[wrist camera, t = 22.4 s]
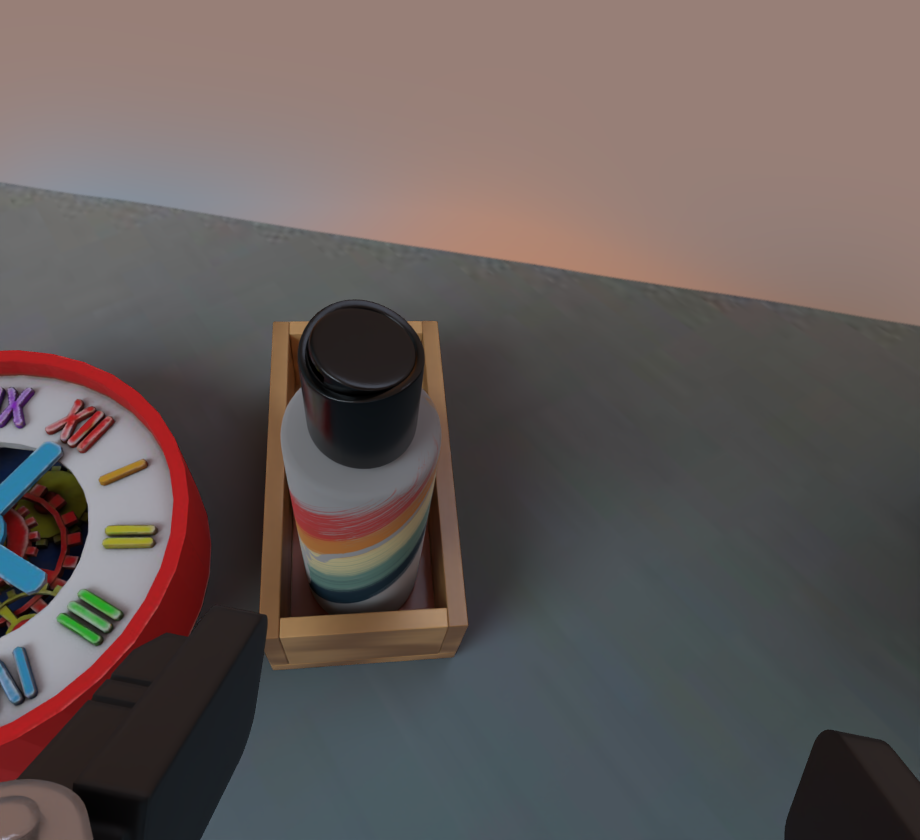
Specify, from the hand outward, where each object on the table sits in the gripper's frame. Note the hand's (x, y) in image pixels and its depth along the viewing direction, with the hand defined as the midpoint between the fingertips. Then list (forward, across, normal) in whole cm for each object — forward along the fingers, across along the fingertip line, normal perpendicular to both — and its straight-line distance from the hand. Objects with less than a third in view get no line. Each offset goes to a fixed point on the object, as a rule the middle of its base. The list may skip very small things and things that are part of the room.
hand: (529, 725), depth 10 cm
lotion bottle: (+26, +5, +11) cm, 29 cm away
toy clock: (+24, +23, +14) cm, 36 cm away
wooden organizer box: (+30, +6, +9) cm, 32 cm away
